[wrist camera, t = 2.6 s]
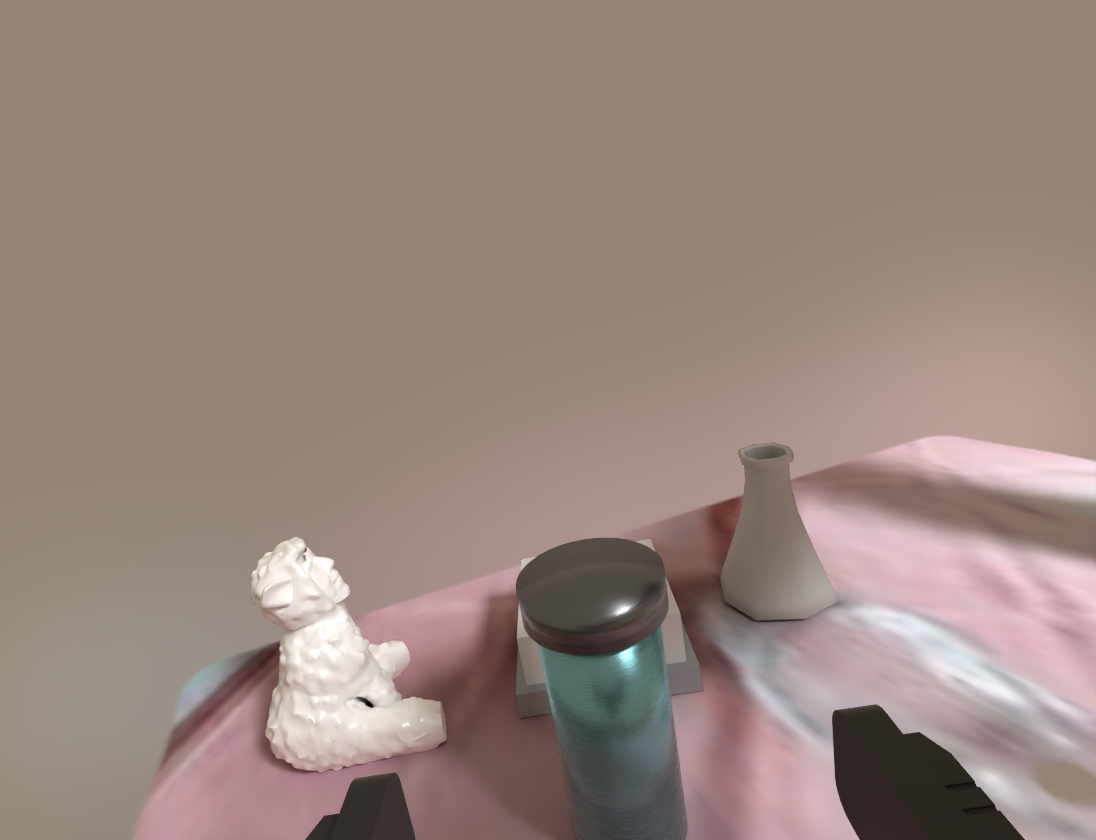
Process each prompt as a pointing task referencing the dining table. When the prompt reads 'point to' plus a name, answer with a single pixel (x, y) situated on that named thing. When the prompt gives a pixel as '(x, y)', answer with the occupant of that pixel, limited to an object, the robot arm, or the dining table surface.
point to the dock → (676, 647)
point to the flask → (772, 545)
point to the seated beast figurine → (334, 672)
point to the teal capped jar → (608, 685)
